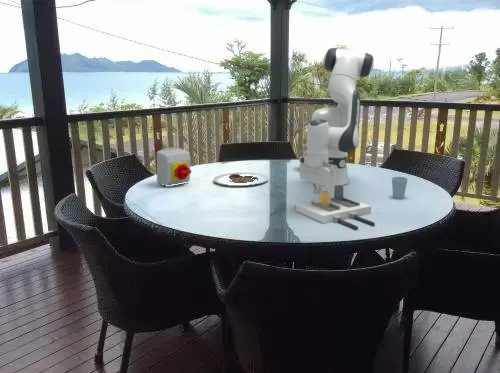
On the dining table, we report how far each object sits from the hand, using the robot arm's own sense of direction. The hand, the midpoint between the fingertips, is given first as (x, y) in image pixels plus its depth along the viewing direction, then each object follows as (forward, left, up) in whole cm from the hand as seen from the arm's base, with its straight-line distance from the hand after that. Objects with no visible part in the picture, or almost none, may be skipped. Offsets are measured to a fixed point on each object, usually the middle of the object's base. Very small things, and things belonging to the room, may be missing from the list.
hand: (316, 193), depth 173 cm
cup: (+4, +43, -8) cm, 44 cm away
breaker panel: (+6, +4, -7) cm, 10 cm away
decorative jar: (-66, +45, -8) cm, 81 cm away
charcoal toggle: (+2, +10, -4) cm, 11 cm away
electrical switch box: (-75, -36, -8) cm, 84 cm away
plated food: (-64, -3, -8) cm, 65 cm away
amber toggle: (+5, 0, -4) cm, 7 cm away
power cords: (+21, +2, -7) cm, 22 cm away
